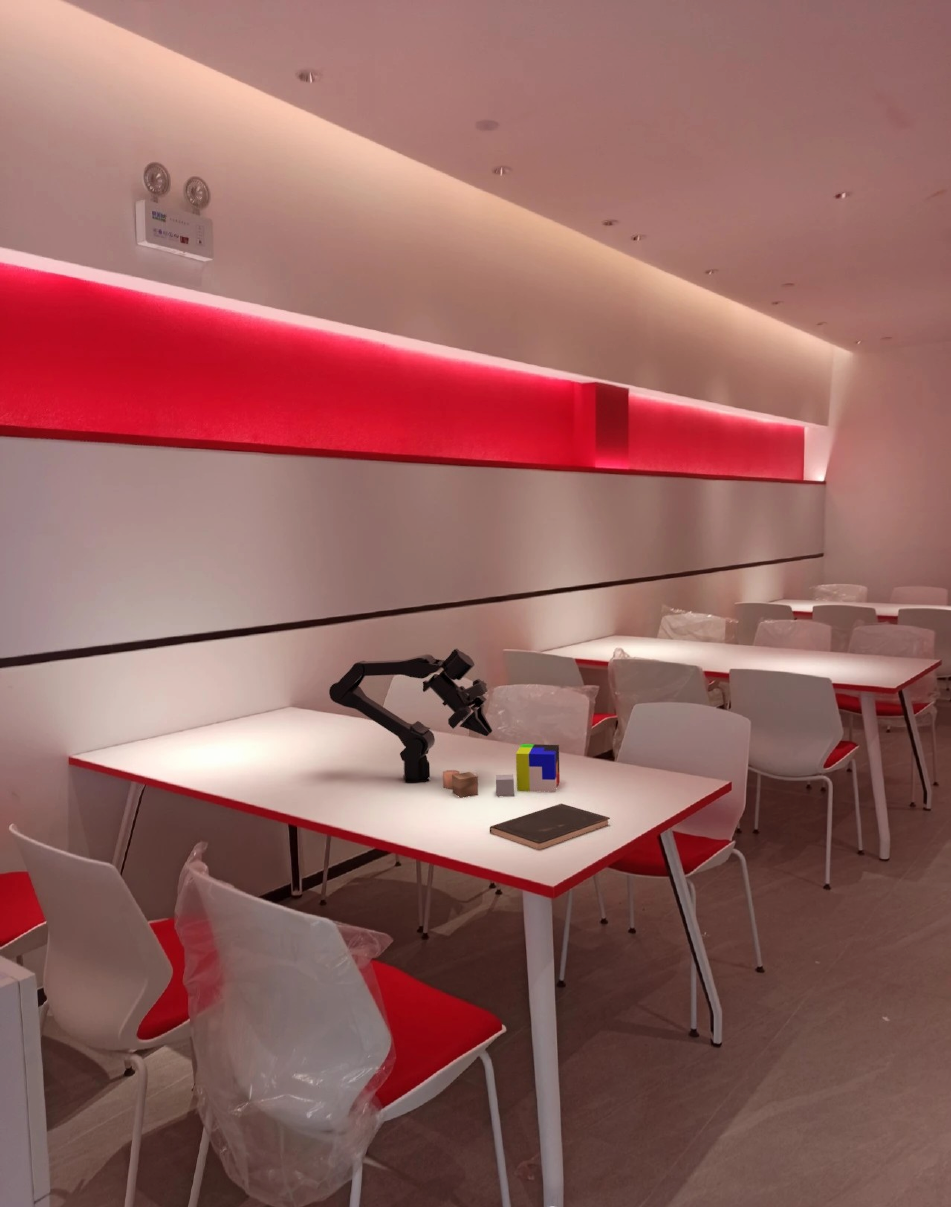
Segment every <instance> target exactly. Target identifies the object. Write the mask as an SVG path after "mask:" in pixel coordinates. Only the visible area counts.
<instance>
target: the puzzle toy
mask: <svg viewBox="0 0 951 1207" xmlns="http://www.w3.org/2000/svg"><path fill="white" fill-rule="evenodd" d="M515 761H516V762H515V765H516V767H515V768H516V771H515V772H516V791H517V792H535V791H538V792H537V793H541V792H543V793H556V791H557V789H558V786H559V783H560V781H561V780H560V745H559V744H534V743H533V744H530V743H529V744H528V743H527V744H525V743H522V744H521V745H520V746H519V748H518V750H517V751H516V753H515ZM556 788H557V789H556ZM539 791H541V792H539ZM544 791H545V792H544ZM548 791H549V792H548Z"/></svg>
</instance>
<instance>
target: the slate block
mask: <svg viewBox="0 0 951 1207" xmlns="http://www.w3.org/2000/svg"><path fill="white" fill-rule="evenodd" d="M514 782H515V781H514V774H495V794H496V796H503V797H515V785H514Z"/></svg>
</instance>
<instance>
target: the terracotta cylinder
mask: <svg viewBox="0 0 951 1207" xmlns="http://www.w3.org/2000/svg"><path fill="white" fill-rule="evenodd" d="M459 773H460V770H456V769H447V770H444V771H442V787H443V788H444V789H445V788H446V789H445V790H453V789H452V775H453V774H459Z"/></svg>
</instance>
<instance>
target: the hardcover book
mask: <svg viewBox="0 0 951 1207" xmlns="http://www.w3.org/2000/svg"><path fill="white" fill-rule="evenodd" d="M609 820H611V817H609V816H605V815H603V814H599V813H595V812H592V811H589V810H584V809H581V808H579V807H575V806H572V805H571V806H570V805H567V804H564V803H559V804H556V805H552V806H548V807H546V808H543V809H540V810H536V811H533V812H530V813H528V814H523V815H520V816H518V817H516V818H512V819H509V820H506V821H502V822H500V823H497V824H493V825H490V827H489V833H490V834H493V835H496V836H499V837H501V838H505V839H507V840H510V841H513V842H516V843H519V844H521V845H524V846H527V847H529V848H532V849H533V848H534V849H536V850H542V849H544V848H547V847H548V848H549V847H551V846H553V845H556V844H558V843H562V842H565V841H566V840H569V839H573V838H575V837H578V836H581V835H584V834H586V832H587V833H589V832H591V831H594V829H595V830H597V829H596V828H598V829H600V827H601V828H603V827H605V825H606V826H608V825H609ZM588 831H589V832H588ZM580 834H581V835H580ZM572 837H573V838H572ZM564 840H565V841H564Z"/></svg>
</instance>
